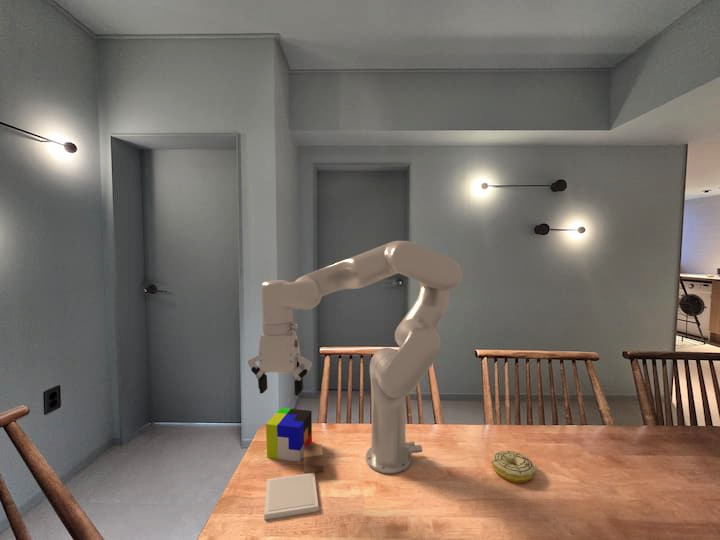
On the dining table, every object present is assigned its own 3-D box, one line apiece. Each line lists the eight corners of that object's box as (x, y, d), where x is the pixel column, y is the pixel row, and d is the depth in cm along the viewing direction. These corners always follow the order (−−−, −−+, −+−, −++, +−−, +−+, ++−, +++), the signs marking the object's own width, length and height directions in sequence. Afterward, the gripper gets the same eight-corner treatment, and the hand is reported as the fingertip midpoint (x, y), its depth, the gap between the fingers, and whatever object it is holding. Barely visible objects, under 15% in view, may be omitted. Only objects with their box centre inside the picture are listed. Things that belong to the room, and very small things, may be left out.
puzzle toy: (300, 461, 100) (299, 427, 99) (267, 457, 102) (266, 424, 101) (311, 442, 109) (311, 410, 109) (281, 438, 111) (280, 407, 111)
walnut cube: (321, 461, 100) (321, 444, 100) (323, 472, 95) (323, 454, 95) (303, 463, 99) (303, 446, 98) (304, 475, 94) (304, 457, 94)
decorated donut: (541, 473, 95) (542, 460, 94) (523, 492, 87) (524, 478, 87) (503, 455, 102) (504, 443, 102) (484, 471, 95) (485, 458, 95)
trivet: (314, 477, 93) (314, 472, 93) (318, 511, 81) (318, 505, 81) (267, 483, 91) (266, 478, 91) (264, 519, 79) (264, 514, 79)
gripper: (314, 325, 94) (316, 388, 95) (253, 324, 97) (256, 384, 98) (305, 332, 86) (307, 400, 88) (239, 331, 90) (243, 396, 91)
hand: (280, 392), depth 93 cm, fingers open, 9 cm apart
